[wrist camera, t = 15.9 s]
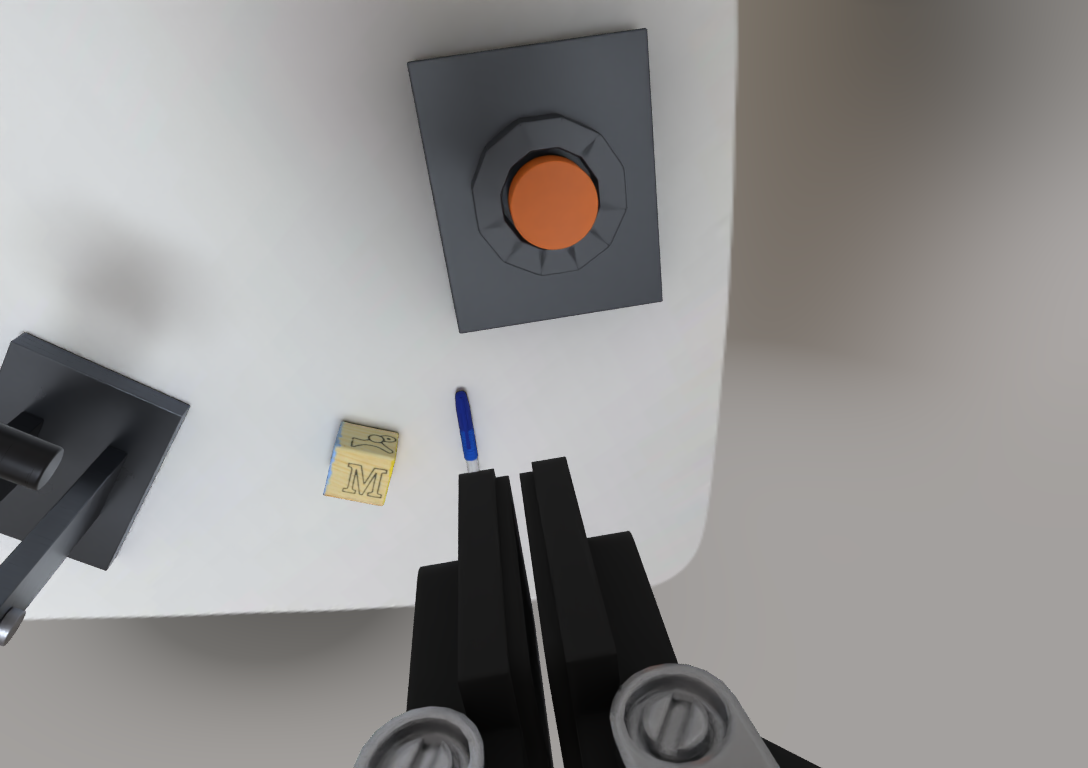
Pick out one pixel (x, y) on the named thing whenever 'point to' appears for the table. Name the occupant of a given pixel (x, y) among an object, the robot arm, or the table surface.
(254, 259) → the table surface
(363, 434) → the alphabet block
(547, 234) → the button
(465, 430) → the ballpoint pen
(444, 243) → the control block
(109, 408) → the bracket
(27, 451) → the lever
